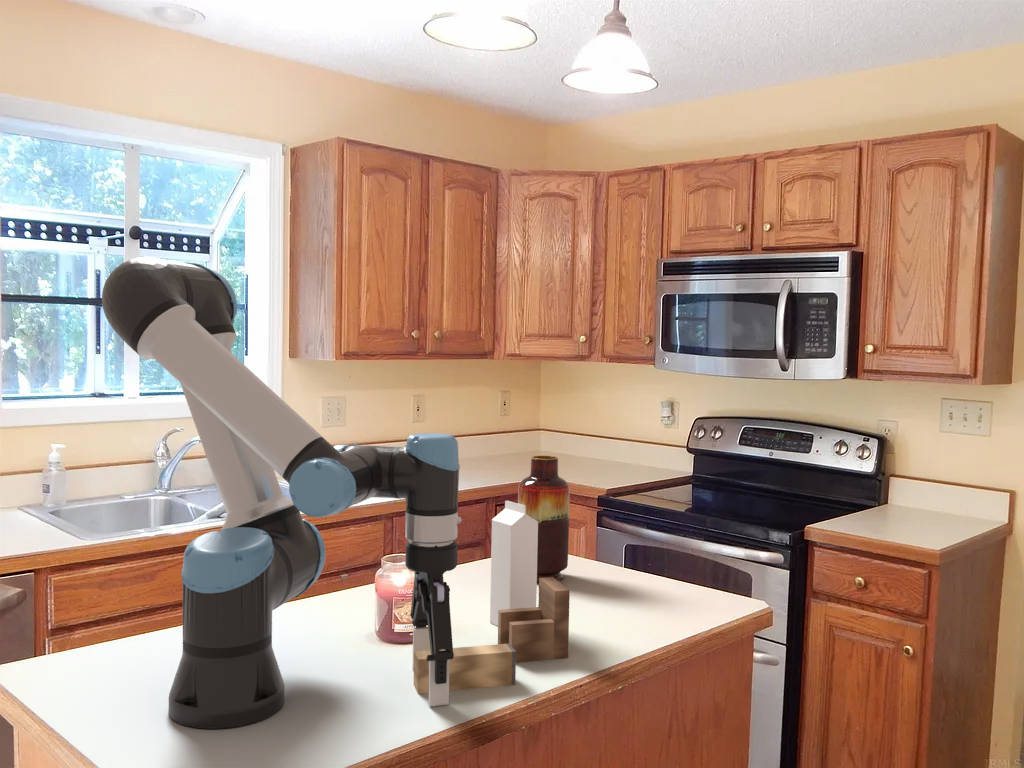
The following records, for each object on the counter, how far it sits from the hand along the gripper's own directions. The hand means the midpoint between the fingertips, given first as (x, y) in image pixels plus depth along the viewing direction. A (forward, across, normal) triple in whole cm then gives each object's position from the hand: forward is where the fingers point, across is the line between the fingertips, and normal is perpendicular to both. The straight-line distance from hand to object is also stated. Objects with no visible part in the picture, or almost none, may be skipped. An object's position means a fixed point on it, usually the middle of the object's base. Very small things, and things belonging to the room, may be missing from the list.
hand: (429, 686), depth 129 cm
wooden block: (0, 0, -5) cm, 5 cm away
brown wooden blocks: (0, +11, -19) cm, 22 cm away
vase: (0, +54, -35) cm, 64 cm away
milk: (0, +25, -20) cm, 32 cm away
